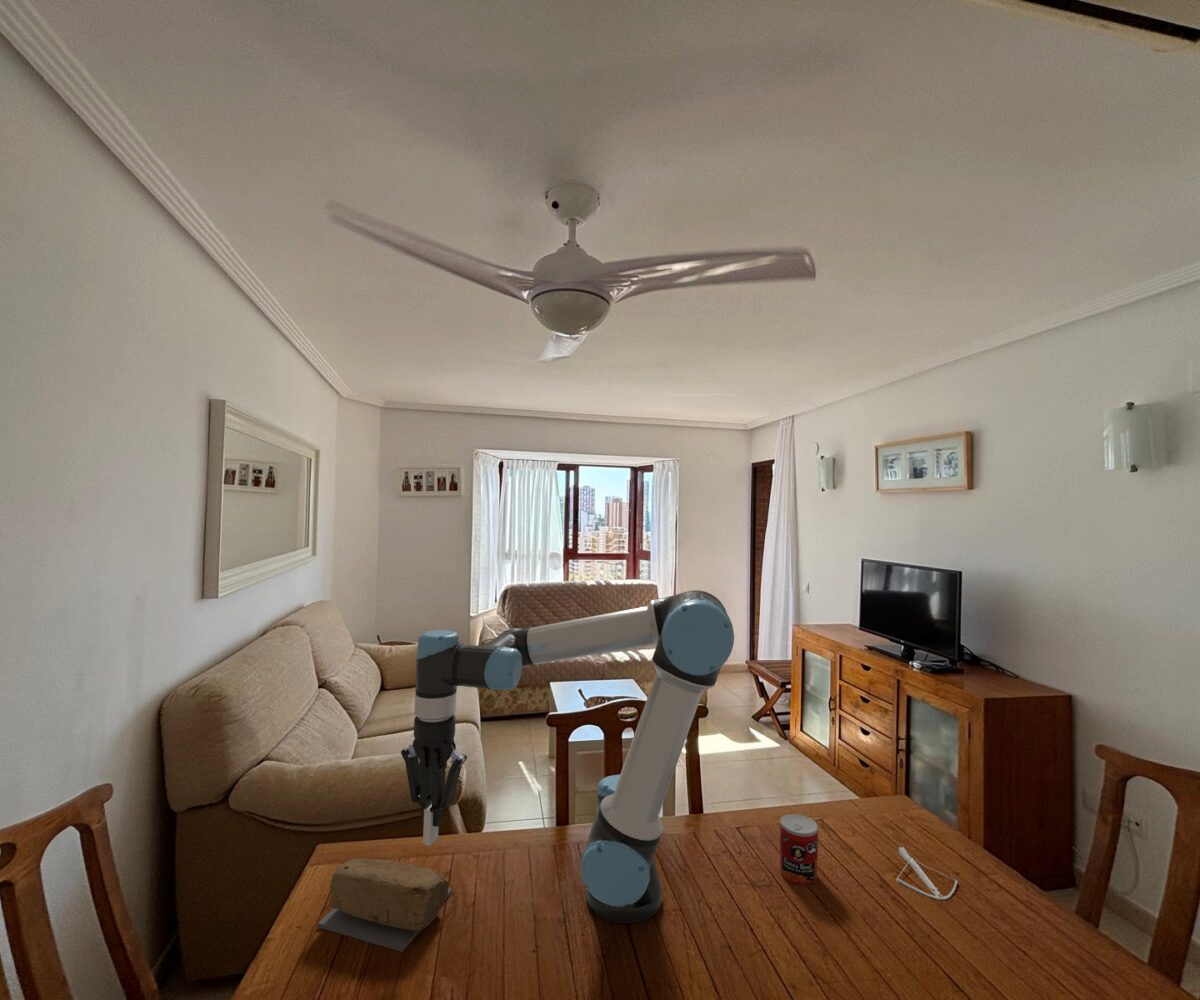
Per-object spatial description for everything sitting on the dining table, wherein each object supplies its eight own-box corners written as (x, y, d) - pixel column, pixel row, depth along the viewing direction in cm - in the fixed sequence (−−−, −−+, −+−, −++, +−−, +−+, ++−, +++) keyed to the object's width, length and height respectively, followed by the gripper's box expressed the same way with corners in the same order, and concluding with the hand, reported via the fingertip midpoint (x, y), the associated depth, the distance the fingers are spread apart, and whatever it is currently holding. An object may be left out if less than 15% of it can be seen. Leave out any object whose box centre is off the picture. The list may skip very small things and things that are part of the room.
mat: (452, 892, 114) (452, 888, 114) (402, 951, 98) (402, 947, 98) (376, 873, 119) (376, 870, 119) (318, 927, 103) (318, 922, 103)
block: (426, 891, 100) (328, 868, 105) (418, 939, 98) (320, 913, 103) (454, 867, 110) (364, 847, 115) (448, 911, 109) (357, 888, 113)
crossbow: (972, 907, 115) (973, 897, 115) (910, 904, 116) (910, 894, 116) (928, 854, 131) (929, 845, 131) (873, 852, 132) (874, 843, 132)
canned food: (778, 880, 120) (779, 828, 120) (781, 859, 127) (782, 810, 128) (816, 890, 117) (817, 837, 117) (817, 868, 125) (818, 818, 125)
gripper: (476, 712, 108) (471, 837, 108) (417, 703, 112) (412, 824, 112) (455, 727, 101) (450, 860, 101) (393, 717, 105) (388, 845, 104)
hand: (430, 841), depth 106 cm, fingers closed
